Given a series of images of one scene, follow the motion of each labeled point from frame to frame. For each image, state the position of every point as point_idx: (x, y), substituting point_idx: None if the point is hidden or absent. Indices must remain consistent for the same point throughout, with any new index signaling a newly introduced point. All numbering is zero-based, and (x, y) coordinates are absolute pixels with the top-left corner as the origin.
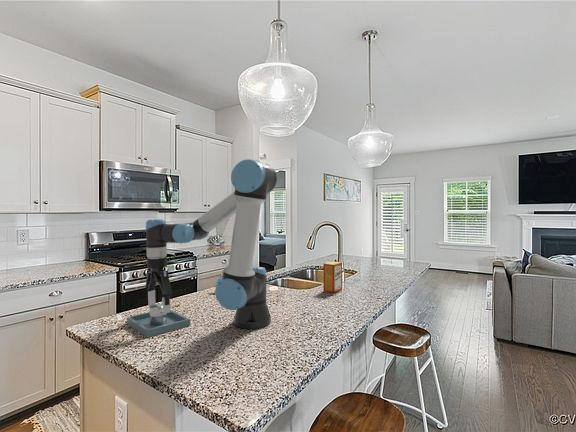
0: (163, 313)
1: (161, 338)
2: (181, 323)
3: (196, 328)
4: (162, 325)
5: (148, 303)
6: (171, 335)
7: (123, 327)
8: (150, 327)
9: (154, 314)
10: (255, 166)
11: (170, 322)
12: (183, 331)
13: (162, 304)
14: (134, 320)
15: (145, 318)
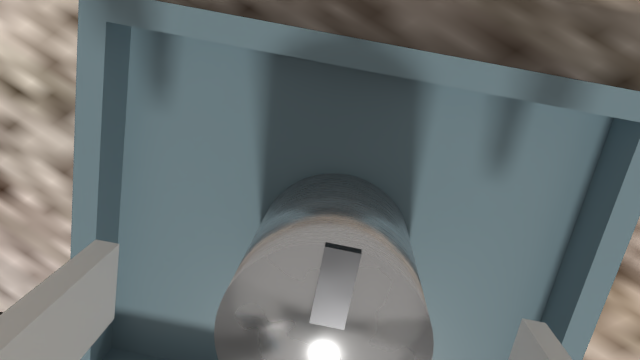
0: (92, 242)
1: (12, 58)
2: None
3: None
4: (244, 226)
5: (562, 350)
6: (13, 145)
7: (570, 8)
8: (288, 137)
9: (278, 223)
10: None
11: None
12: (22, 249)
13: (48, 303)
14: (493, 87)
15: (558, 255)
